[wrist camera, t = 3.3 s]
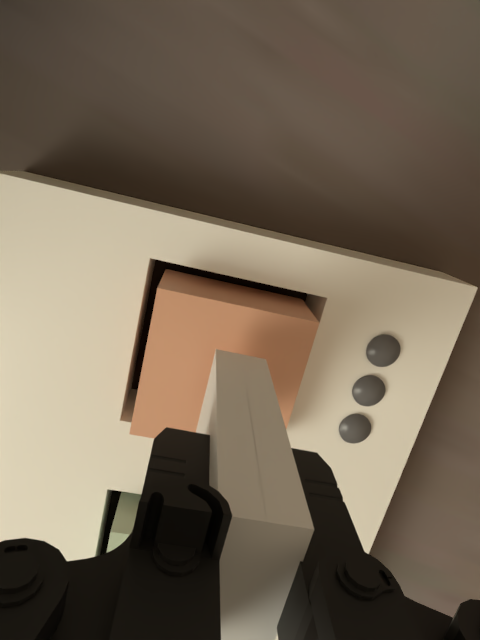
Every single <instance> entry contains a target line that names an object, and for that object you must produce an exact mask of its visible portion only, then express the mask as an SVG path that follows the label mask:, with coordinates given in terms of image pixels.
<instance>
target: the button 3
mask: <svg viewBox="0 0 480 640" xmlns="http://www.w3.org/2000/svg"><path fill="white" fill-rule="evenodd" d="M318 326H319V321H318V320H317V319H316V317H315V316H314V315H313V313H312V312H311V310H310V309H309V308H308V306H307V305H306V304H305V302H304V301H303V300H302V299H299V298H295V297H290V296H286V295H281V294H277V293H272V292H268V291H263V290H259V289H254V288H250V287H245V286H241V285H236V284H232V283H227V282H223V281H218V280H214V279H209V278H205V277H200V276H196V275H191V274H187V273H182V272H178V271H173V270H169V269H166V270H165V272H164V274H163V276H162V279H161V281H160V283H159V285H158V288H157V292H156V298H155V303H154V308H153V313H152V318H151V324H150V329H149V334H148V339H147V344H146V350H145V355H144V360H143V365H142V370H141V376H140V381H139V386H138V391H137V396H136V402H135V407H134V412H133V417H132V422H131V427H130V433H129V434H131V435H137V436H143V437H148V438H155V437H156V436H157V435H158V434H160V433H161V432H162V431H163V430H164V429H165V428H166V427H168V428H174V429H179V430H185V431H190V432H196V429H197V425H198V421H199V416H200V412H201V408H202V404H203V400H204V396H205V392H206V388H207V384H208V379H209V375H210V371H211V367H212V363H213V359H214V355H215V351H216V349H218V350H223V351H228V352H233V353H238V354H243V355H248V356H253V357H258V358H262V359H266V361H267V364H268V368H269V371H270V375H271V378H272V382H273V385H274V389H275V392H276V396H277V399H278V403H279V406H280V410H281V414H282V417H283V421H284V424H285V428H286V429H287V426H288V423H289V419H290V416H291V413H292V410H293V407H294V403H295V400H296V397H297V394H298V390H299V387H300V384H301V381H302V378H303V374H304V371H305V368H306V365H307V361H308V358H309V355H310V352H311V349H312V345H313V342H314V339H315V336H316V332H317V329H318Z"/></svg>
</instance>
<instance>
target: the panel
mask: <svg viewBox="0 0 480 640" xmlns="http://www.w3.org/2000/svg"><path fill="white" fill-rule="evenodd" d="M155 260H161V261H165V262H170V263H174V264H178V265H183V266H187V267H192V268H196V269H201V270H205V271H210V272H214V273H219V274H223V275H228V276H232V277H237V278H241V279H245V280H250V281H254V282H259V283H263V284H268V285H272V286H277V287H281V288H286V289H290V290H295V291H299V292H304V293H308V294H307V297H306V300H305V304H306V305H307V306H308V308H309V309H310V310H311V312H312V313H313V315H314V316H315V317H316V319H317V320H318V321H319V326H318V329H317V332H316V336H315V339H314V342H313V345H312V349H311V352H310V355H309V358H308V361H307V365H306V368H305V371H304V374H303V378H302V381H301V384H300V387H299V390H298V394H297V397H296V400H295V403H294V407H293V410H292V413H291V416H290V419H289V423H288V426H287V429H286V431H287V435H288V438H289V442H290V445H291V448H294V449H300V450H306V451H311V452H317V453H318V454H319V455H320V456H321V457H322V459H323V460H324V461H325V462H326V463H327V464H328V465H329V466H330V467H331V469H332V472H333V474H334V477H335V479H336V482H337V484H338V485H337V488H339V489H340V492H341V494H342V497H343V502H345V504H346V507H347V509H348V512H349V514H350V517H351V519H352V522H353V524H354V527H355V529H356V532H357V534H358V537H359V539H360V542H361V544H362V547H363V549H364V552H366V553H367V554H369V552H370V549H371V547H372V544H373V542H374V540H375V537H376V535H377V532H378V530H379V527H380V525H381V523H382V520H383V518H384V515H385V513H386V510H387V508H388V505H389V503H390V501H391V498H392V496H393V493H394V491H395V488H396V486H397V484H398V481H399V479H400V476H401V474H402V471H403V469H404V467H405V464H406V462H407V459H408V457H409V454H410V452H411V450H412V447H413V445H414V442H415V440H416V437H417V435H418V432H419V430H420V428H421V425H422V423H423V420H424V418H425V415H426V413H427V411H428V408H429V406H430V403H431V401H432V398H433V396H434V394H435V391H436V389H437V386H438V384H439V381H440V379H441V376H442V374H443V372H444V369H445V367H446V364H447V362H448V359H449V357H450V355H451V352H452V350H453V347H454V345H455V342H456V340H457V338H458V335H459V333H460V330H461V328H462V325H463V323H464V321H465V318H466V316H467V313H468V311H469V308H470V306H471V303H472V301H473V299H474V296H475V294H476V291H477V289H478V287H476V286H474V285H471V284H469V283H467V282H464V281H462V280H460V279H457V278H455V277H453V276H450V275H448V274H446V273H443V272H440V271H436V270H432V269H428V268H423V267H419V266H415V265H411V264H407V263H403V262H398V261H394V260H390V259H386V258H382V257H378V256H374V255H369V254H365V253H361V252H357V251H353V250H349V249H345V248H340V247H336V246H332V245H328V244H324V243H320V242H316V241H311V240H307V239H303V238H299V237H295V236H291V235H286V234H282V233H278V232H274V231H270V230H266V229H262V228H257V227H253V226H249V225H245V224H241V223H237V222H233V221H228V220H224V219H220V218H216V217H212V216H208V215H203V214H199V213H195V212H191V211H187V210H183V209H179V208H174V207H170V206H166V205H162V204H158V203H154V202H150V201H145V200H141V199H137V198H133V197H129V196H125V195H120V194H116V193H112V192H108V191H104V190H100V189H96V188H91V187H87V186H83V185H79V184H75V183H71V182H67V181H62V180H58V179H54V178H50V177H46V176H42V175H38V174H33V173H29V172H25V171H0V542H1V541H4V540H11V539H20V538H30V539H35V540H41V541H45V542H47V543H49V544H50V545H52V546H54V547H55V548H57V549H59V550H60V552H61V553H62V555H63V556H64V558H65V559H66V561H73V560H80V559H87V558H91V557H95V556H100V553H101V548H102V543H103V537H104V532H105V527H106V521H107V516H108V511H109V505H110V500H111V495H112V490H116V491H122V492H129V493H135V494H142V490H143V486H144V481H145V477H146V472H147V468H148V463H149V459H150V454H151V450H152V445H153V441H154V438H148V437H143V436H137V435H131V434H129V433H130V427H131V422H132V417H133V412H134V407H135V402H136V396H137V391H138V390H137V389H131V388H132V383H133V377H134V372H135V367H136V361H137V356H138V351H139V345H140V340H141V335H142V329H143V324H144V319H145V313H146V308H147V303H148V297H149V292H150V287H151V281H152V276H153V271H154V265H155ZM275 640H278V634H277V635H276V638H275Z"/></svg>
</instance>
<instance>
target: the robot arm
mask: <svg viewBox="0 0 480 640" xmlns="http://www.w3.org/2000/svg"><path fill="white" fill-rule="evenodd" d="M337 485H338V484H337V482H336V479H335V477H334V474H333V472H332V469H331V467H330V466H329V465H328V464H327V463H326V462H325V461H324V460H323V459H322V457H321V456H320V455H319V454H318V453H317V452H311V451H306V450H300V449H294V448H291V445H290V442H289V438H288V435H287V431H286V428H285V424H284V421H283V417H282V414H281V410H280V406H279V403H278V399H277V396H276V392H275V389H274V385H273V382H272V378H271V375H270V371H269V368H268V364H267V361H266V359H262V358H258V357H253V356H248V355H243V354H238V353H233V352H228V351H223V350H218V349H216V351H215V355H214V359H213V363H212V367H211V371H210V375H209V379H208V384H207V388H206V392H205V396H204V400H203V404H202V408H201V412H200V416H199V421H198V425H197V429H196V432H190V431H185V430H179V429H174V428H168V427H166V428H165V429H164V430H163V431H162V432H161V433H160V434H158V435H157V436H156V437H155V438H154V441H153V445H152V450H151V454H150V459H149V463H148V468H147V472H146V477H145V481H144V486H143V490H142V495H141V499H140V500H139V504H138V509H137V514H136V518H135V523H134V527H133V530H132V532H131V534H130V535H129V536H128V538H127V539H126V540H125V541H124V542H123V543H122V544H121V545H119V546H118V547H117V548H115V549H114V550H112V551H109V552H107V553H105V554H103V555H100V556H95V557H91V558H87V559H80V560H73V561H66V559H65V558H64V556H63V555H62V553H61V552H60V550H59V549H57V548H55V547H54V546H52V545H50V544H49V543H47V542H45V541H41V540H35V539H30V538H20V539H11V540H4V541H1V542H0V640H275V638H276V635H277V634H278V640H480V600H473V599H470V600H468V601H465V602H463V603H461V604H460V606H459V608H458V610H457V611H456V613H455V615H454V617H453V618H452V617H450V616H448V615H445V614H443V613H441V612H438V611H436V610H433V609H431V608H429V607H426V606H424V605H422V604H419V603H417V602H415V601H413V600H411V599H409V598H407V597H405V596H404V594H403V592H402V590H401V588H400V586H399V584H398V582H397V581H396V579H395V578H394V576H393V575H392V573H391V572H390V571H389V570H388V569H387V568H386V567H385V566H384V565H383V564H382V563H381V562H380V561H379V560H378V559H376V558H374V557H372V556H371V555H369V554H367V553H366V552H364V549H363V547H362V544H361V542H360V539H359V537H358V534H357V532H356V529H355V527H354V524H353V522H352V519H351V517H350V514H349V512H348V509H347V507H346V504H345V502H343V497H342V494H341V492H340V489H339V488H337Z"/></svg>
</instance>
